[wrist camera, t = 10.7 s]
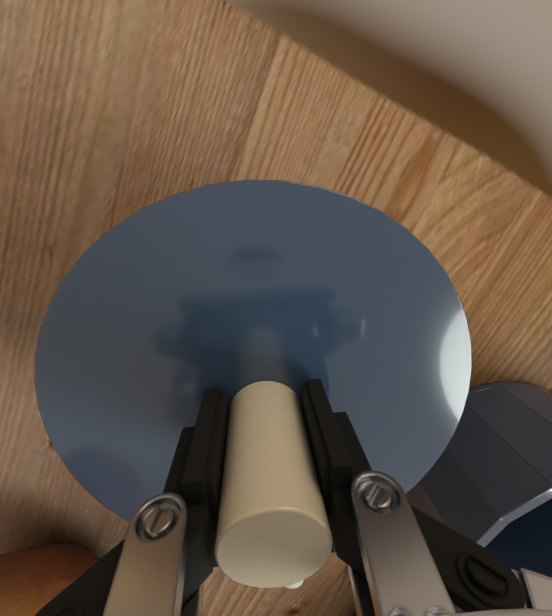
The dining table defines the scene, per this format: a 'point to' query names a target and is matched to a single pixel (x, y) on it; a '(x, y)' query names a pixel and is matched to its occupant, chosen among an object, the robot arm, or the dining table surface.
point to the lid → (252, 357)
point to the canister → (497, 475)
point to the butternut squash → (39, 576)
